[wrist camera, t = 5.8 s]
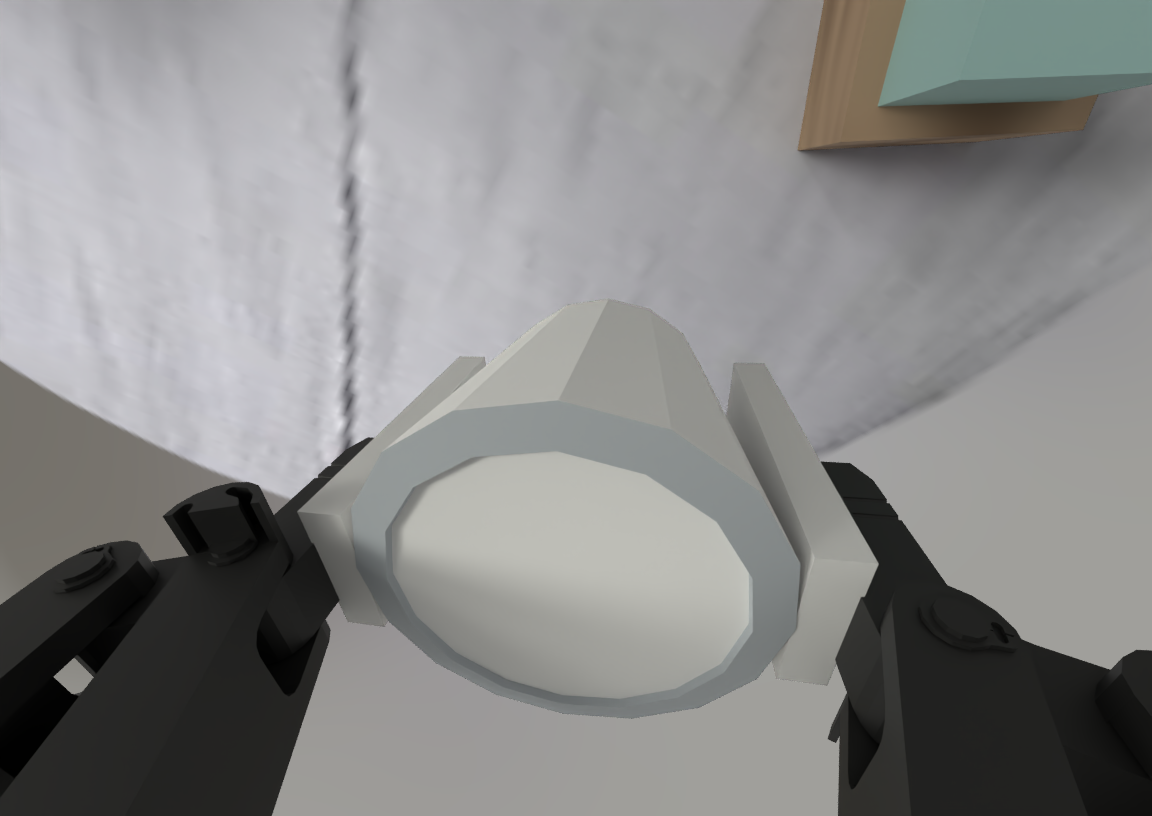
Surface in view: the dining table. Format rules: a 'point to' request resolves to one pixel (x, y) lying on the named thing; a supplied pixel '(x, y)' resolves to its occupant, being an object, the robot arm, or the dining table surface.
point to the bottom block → (853, 118)
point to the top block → (1017, 51)
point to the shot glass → (582, 526)
